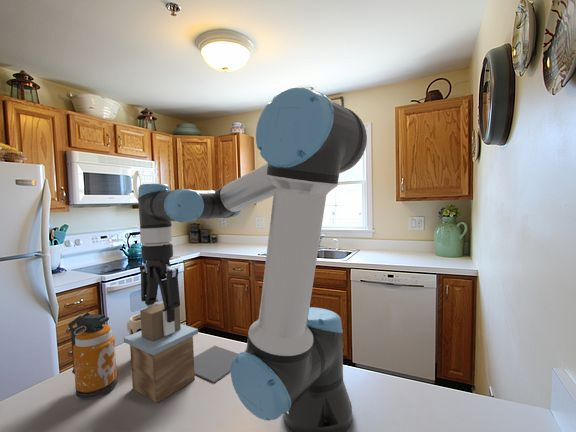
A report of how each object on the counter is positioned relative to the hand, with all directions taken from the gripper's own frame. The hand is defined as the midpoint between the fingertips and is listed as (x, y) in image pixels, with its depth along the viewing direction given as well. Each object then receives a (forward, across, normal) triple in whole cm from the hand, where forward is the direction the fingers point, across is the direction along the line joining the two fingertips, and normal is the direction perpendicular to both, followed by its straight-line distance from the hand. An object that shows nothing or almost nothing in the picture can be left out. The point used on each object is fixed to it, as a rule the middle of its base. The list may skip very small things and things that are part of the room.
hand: (161, 330), depth 77 cm
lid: (+3, 0, 0) cm, 3 cm away
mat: (+14, -4, -14) cm, 20 cm away
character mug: (+15, +18, -5) cm, 24 cm away
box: (+14, 0, 0) cm, 14 cm away
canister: (+15, +14, +11) cm, 23 cm away
